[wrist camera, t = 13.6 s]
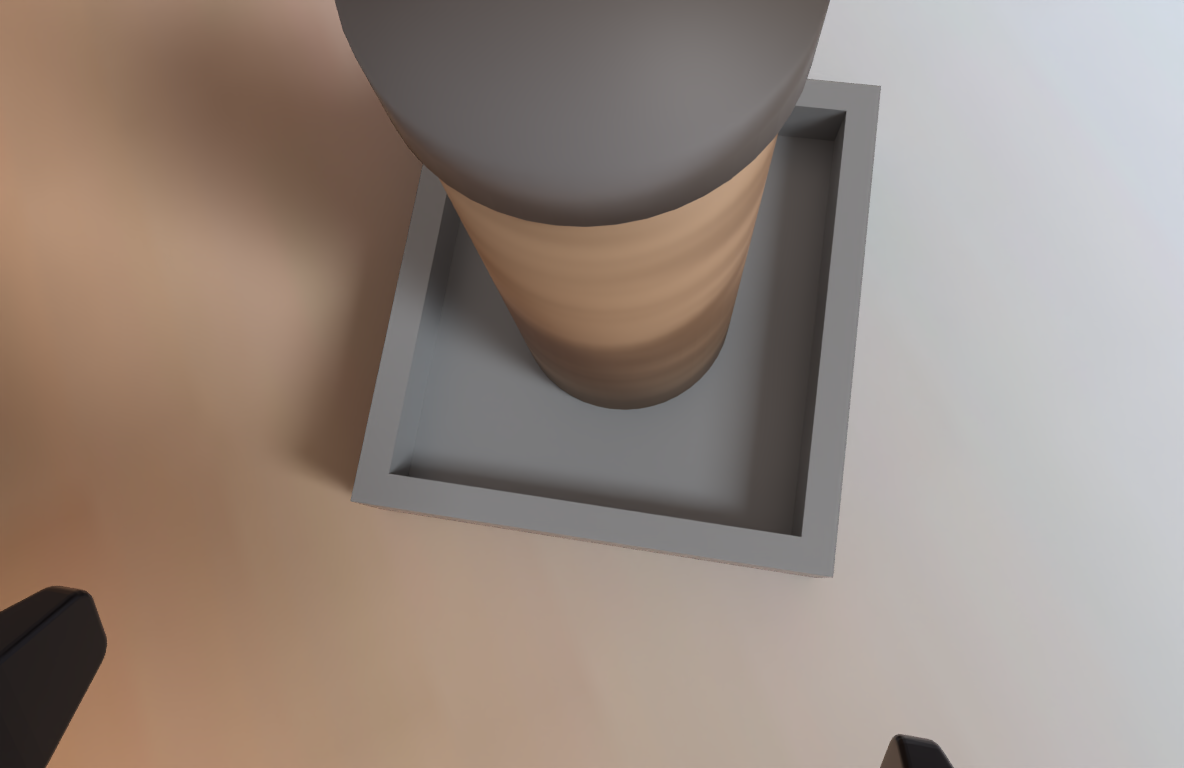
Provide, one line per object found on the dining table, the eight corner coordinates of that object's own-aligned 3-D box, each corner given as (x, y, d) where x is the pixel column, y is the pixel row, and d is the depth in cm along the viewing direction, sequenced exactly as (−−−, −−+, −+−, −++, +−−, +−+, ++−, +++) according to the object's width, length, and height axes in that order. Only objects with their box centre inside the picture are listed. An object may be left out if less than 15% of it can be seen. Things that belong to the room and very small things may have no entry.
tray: (814, 577, 22) (833, 577, 20) (381, 509, 23) (350, 501, 21) (859, 132, 25) (880, 85, 22) (467, 91, 26) (448, 43, 24)
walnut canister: (706, 443, 22) (772, 224, 9) (486, 384, 23) (259, 107, 10) (761, 233, 24) (888, -223, 10) (551, 184, 24) (424, -296, 11)
